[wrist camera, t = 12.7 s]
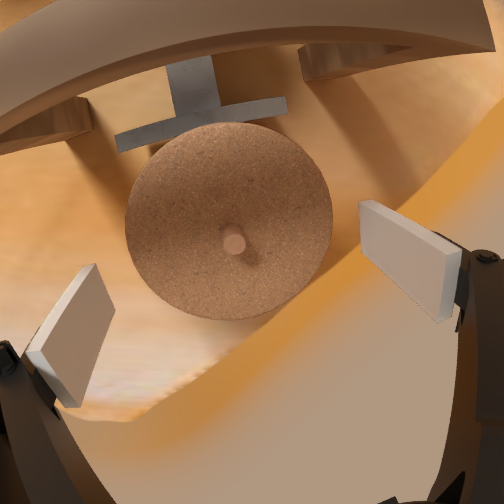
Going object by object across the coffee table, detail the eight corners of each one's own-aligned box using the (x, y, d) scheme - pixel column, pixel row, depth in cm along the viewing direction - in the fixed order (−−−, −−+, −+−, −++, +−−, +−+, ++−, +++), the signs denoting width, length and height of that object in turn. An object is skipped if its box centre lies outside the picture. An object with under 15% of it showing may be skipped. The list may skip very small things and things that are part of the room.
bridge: (58, 110, 17) (-98, 122, 4) (329, 48, 19) (478, -10, 5) (64, 140, 18) (-89, 186, 5) (335, 78, 20) (495, 51, 6)
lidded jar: (319, 168, 22) (385, 199, 14) (249, 283, 25) (273, 362, 17) (192, 97, 19) (183, 76, 10) (127, 228, 22) (88, 291, 13)
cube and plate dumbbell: (112, -6, 14) (75, -54, 7) (235, -33, 15) (251, -92, 7) (139, 145, 19) (104, 158, 12) (267, 116, 20) (303, 112, 13)
